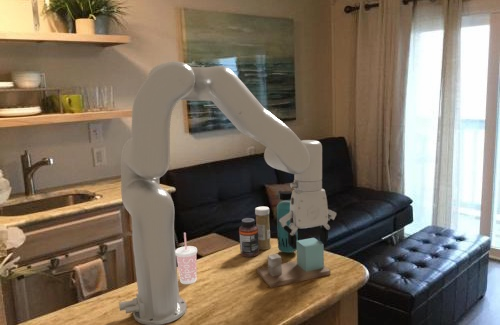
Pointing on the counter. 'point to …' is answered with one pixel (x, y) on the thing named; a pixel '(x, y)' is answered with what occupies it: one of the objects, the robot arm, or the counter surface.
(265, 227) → the sprinkles bottle
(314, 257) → the pale aqua cube
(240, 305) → the counter surface
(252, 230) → the supplement bottle
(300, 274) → the post board
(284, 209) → the beverage bottle
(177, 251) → the beverage cup
